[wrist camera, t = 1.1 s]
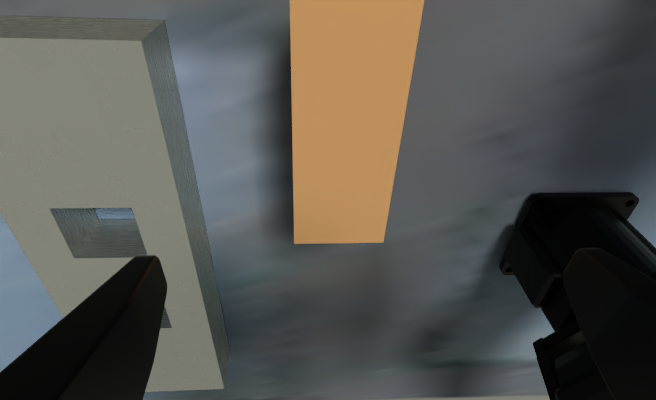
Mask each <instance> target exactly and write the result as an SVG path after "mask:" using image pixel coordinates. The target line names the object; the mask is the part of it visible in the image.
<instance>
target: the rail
mask: <svg viewBox="0 0 656 400" xmlns="http://www.w3.org/2000/svg"><path fill="white" fill-rule="evenodd" d="M94 208H132V210H133V213H134V216H135V219H129V220H98V218H97V215H96V213H95V211H94ZM0 214H1V215H2V217H3V219H4V220H5V222H6V224H7V225H8V227H9V229H10V230H11V232H12V234H13V235H14V237H15V239H16V240H17V242H18V244H19V245H20V247H21V249H22V250H23V252H24V254H25V255H26V257H27V259H28V260H29V262H30V264H31V265H32V267H33V269H34V270H35V272H36V274H37V275H38V277H39V279H40V280H41V282H42V284H43V285H44V287H45V289H46V290H47V292H48V294H49V295H50V297H51V299H52V300H53V302H54V304H55V305H56V307H57V309H58V310H59V312H60V314H61V315H62V317H63V318H64V317H65V316H66V315H67V314H69V313H70V312H71V311H72V310H73V309H74V308H76V307H77V306H78V305H79V304H80V303H81V302H83V301H84V300H85V299H86V298H87V297H88V296H89V295H91V294H92V293H93V292H94V291H95V290H96V289H98V288H99V287H100V286H101V285H102V284H103V283H105V282H106V281H107V280H108V279H109V278H110V277H112V276H113V275H114V274H115V273H116V272H117V271H119V270H120V269H121V268H122V267H123V266H124V265H125V264H127V263H128V262H129V261H130V260H131V259H133V258H134V257H136V256H139V255H155V256H157V257H158V258H159V260H160V262H161V265H162V269H163V272H164V275H165V278H166V281H167V295H166V300H165V305H164V311H163V316H162V322H161V327H160V332H159V338H158V343H157V348H156V353H155V358H154V363H153V366H152V370H151V373H150V377H149V380H148V383H147V386H146V390H145V392H160V391H184V390H209V389H224V387H225V381H226V374H227V367H228V360H229V354H230V349H229V344H228V338H227V333H226V328H225V323H224V318H223V313H222V308H221V303H220V298H219V293H218V288H217V283H216V278H215V273H214V268H213V263H212V258H211V253H210V248H209V243H208V238H207V233H206V228H205V223H204V218H203V213H202V208H201V203H200V197H199V192H198V187H197V182H196V177H195V172H194V167H193V162H192V157H191V152H190V147H189V142H188V137H187V132H186V127H185V122H184V117H183V112H182V107H181V102H180V97H179V92H178V87H177V82H176V77H175V72H174V67H173V62H172V56H171V51H170V46H169V41H168V36H167V31H166V26H165V21H164V20H145V19H106V18H68V17H29V16H0Z"/></svg>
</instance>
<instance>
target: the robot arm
mask: <svg viewBox="0 0 656 400" xmlns="http://www.w3.org/2000/svg"><path fill="white" fill-rule="evenodd" d="M538 201H539V202H538ZM537 202H538V203H537ZM638 202H639V198H638V197H636V196H635V195H634V194H633V193H630V192H605V193H536V194H534V195H532V196H531V197H530V198H529V199H528V201H527V204H526V206H525V208H524V211H523V213H522V215H521V218H520V220H519V222H518V224H517V227H516V229H515V231H514V233H513V235H512V238H511V240H510V242H509V245H508V247H507V249H506V251H505V254H504V257H503V259H502V261H501V263H500V266H499V268H500V270H501V272H502V273H503V274H504V275H515V276H516V278H517V279H518V281H519V283H520V284H521V286H522V288H523V290H524V291H525V293H526V295H527V297H528V298H529V300H530V302H531V303H532V305H533V306H534V307H535V308H541V309H542V311H543V313H544V314H545V316H546V318H547V319H548V321H549V323H550V324H551V326H552V328H553V329H554V331H555V332H554V333H552V334H550V335H549V336H547V337H545V338H544V339H543V338H540V339H538V340H537V341H535V342H533V346H534V349H535V352H536V355H537V361H538V364H539V367H540V370H541V373H542V376H543V379H544V382H545V385H546V388H547V391H548V395H549V398H550V400H656V248H655V247H654V246H653V245H652V244H651V243H650V242H649V241H648V240H647V239H646V238H645V237H644V236H643V235H642V234H641V233H640V232H639V231H638V230H636V229H635V228H634V227H633V226H632V225H631V224H630V223H629V222H628V221H627V219H628V218H629V216H630V215H631V213H632V211H633V210H634V208H635V207H636V205H637V204H638ZM166 295H167V281H166V278H165V275H164V272H163V269H162V265H161V262H160V260H159V258H158V257H157V256H155V255H139V256H136V257H134V258H133V259H131V260H130V261H129V262H128V263H127V264H125V265H124V266H123V267H122V268H121V269H120V270H119V271H117V272H116V273H115V274H114V275H113V276H112V277H110V278H109V279H108V280H107V281H106V282H105V283H103V284H102V285H101V286H100V287H99V288H98V289H96V290H95V291H94V292H93V293H92V294H91V295H89V296H88V297H87V298H86V299H85V300H84V301H83V302H81V303H80V304H79V305H78V306H77V307H76V308H74V309H73V310H72V311H71V312H70V313H69V314H67V315H66V316H65V317H64V318H63V319H62V320H60V321H59V322H58V323H57V324H56V325H55V326H54V327H52V328H51V329H50V330H49V331H48V332H47V333H45V334H44V335H43V336H42V337H41V338H40V339H38V340H37V341H36V342H35V343H34V344H33V345H31V346H30V347H29V348H28V349H27V350H26V351H24V352H23V353H22V354H21V355H20V356H19V357H18V358H16V359H15V360H14V361H13V362H12V363H11V364H9V365H8V366H7V367H6V368H5V369H4V370H2V371H1V372H0V400H142V399H143V396H144V393H145V390H146V386H147V383H148V380H149V377H150V373H151V370H152V366H153V363H154V358H155V353H156V348H157V343H158V338H159V332H160V327H161V322H162V316H163V311H164V305H165V300H166Z"/></svg>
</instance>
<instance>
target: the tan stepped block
mask: <svg viewBox="0 0 656 400" xmlns="http://www.w3.org/2000/svg"><path fill="white" fill-rule="evenodd" d="M423 5H424V0H290V39H291V95H292V150H293V206H294V244H321V243H383V241H384V235H385V229H386V224H387V218H388V212H389V206H390V200H391V194H392V188H393V182H394V176H395V170H396V165H397V159H398V153H399V147H400V141H401V135H402V129H403V123H404V117H405V112H406V106H407V100H408V94H409V88H410V82H411V76H412V70H413V64H414V58H415V53H416V47H417V41H418V35H419V29H420V23H421V17H422V11H423Z"/></svg>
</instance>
